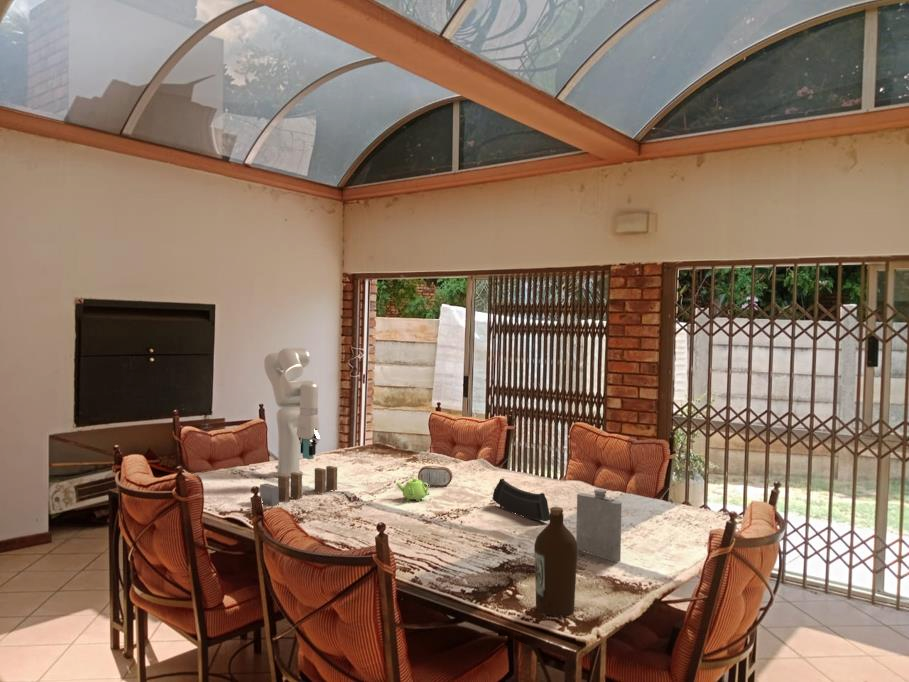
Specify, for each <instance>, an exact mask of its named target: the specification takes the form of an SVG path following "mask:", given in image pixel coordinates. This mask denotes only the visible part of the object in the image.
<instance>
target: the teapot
mask: <svg viewBox="0 0 909 682" xmlns="http://www.w3.org/2000/svg"><path fill="white" fill-rule="evenodd" d="M424 484H426V485H427V486H425V485H424ZM396 487H398V488H399V490H400V491H401V492H402V495H403V497H404V498H405V499H406V500H407V502H410V501H411V500H415V502H417V501H420V502H421V500H423V499H424V498H425V497H426V496H430V491H429V486H428V484H427V483H422V481H421V480H419V479H418V478H416V477H415V478H412V479H411V480H407V482H406V484H405V485H404V486H403V485H402V484H401V483H400V482H398V483H396ZM422 498H423V499H422Z"/></svg>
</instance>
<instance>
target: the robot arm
mask: <svg viewBox="0 0 909 682" xmlns="http://www.w3.org/2000/svg"><path fill="white" fill-rule="evenodd" d="M310 361H311V354H310V352H309V351H308V349H306V348H305V347H286V348H282V349H281V350H279V352H271V353H269V354H267V355H265V357H264V360H263V362H264V364H263V365H264V371H265V374H266V376H267V378H268V380H269V382H270V384H271V386H272V391H273V396H274V400H275V404H276V405H277V406H278V407H279V409H278V410H277V412H276V425H277V430H278V431H277V433H278V435H277V436H278V438H277V440H278V444H277V445H278V448H277V449H278V455H277V458H278V459H277V461H278V462H277V465H275V466H274V468H275V470H277V471H276V472H274V477H276V478H278V475H280V474H283V475H287V476H289V479H291V472H297V473H301V474H302V476H303V475H304V474H303V473H304V472H303V471H301V470H300V454H303V439H308V440H309V443H310V446H309V455H310V456H311V455H313V456H315V455H316V452H317V451H316V450H317V449H316V448H317V445H318V442H319V441H321V438H320V422H319V415H318V412H319V411H318V410H319V386H318V383H316V382H314V381H312V380H296V379H298V378H300V377H301V376H302V374H303V373H304V368H305V367H307V366H308V365H309V364H310ZM282 371H283V372H282ZM295 429H296V430H295ZM313 437H314V438H313ZM311 438H312V439H311ZM312 440H313V442H312Z"/></svg>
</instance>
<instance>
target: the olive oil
mask: <svg viewBox="0 0 909 682" xmlns="http://www.w3.org/2000/svg"><path fill="white" fill-rule="evenodd" d="M549 514H550V520H549V523H548V524H547V525H546V527H544V528H543V529H542V530H541V532H539V534H538V535H537V536H536V539H535V542H534V550H533V551H534V570H535V573H534V578H535V579H534V580H535V609H536V610H537V611H538V612H539V613H541V614H543V615H546V616H551V617H565V616H569V615H571V614H573V613H574V611H575V600H576V599H575V598H576V583H577V582H576V581H577V568H578V567H577V566H578V552H579V551H578V546H577V542H576V536H574V535H573V533H572V532H571V531H570V530H569V529H568V528H567V526H565V523H564V508H563V507H561V506H560V507H559V506H555V507H554V506H553V507H550V508H549Z"/></svg>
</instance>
